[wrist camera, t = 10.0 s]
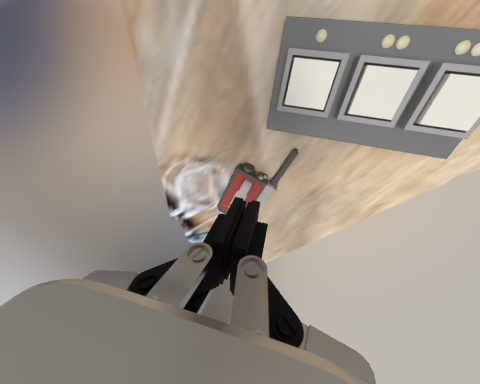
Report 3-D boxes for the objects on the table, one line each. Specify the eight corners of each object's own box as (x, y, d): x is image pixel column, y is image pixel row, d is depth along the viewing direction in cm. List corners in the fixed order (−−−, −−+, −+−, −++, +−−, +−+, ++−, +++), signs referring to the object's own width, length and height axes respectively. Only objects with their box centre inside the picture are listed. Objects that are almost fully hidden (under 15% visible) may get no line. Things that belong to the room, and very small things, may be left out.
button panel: (287, 21, 23) (286, 10, 19) (523, 38, 19) (571, 29, 16) (267, 126, 30) (264, 131, 27) (436, 154, 26) (457, 164, 23)
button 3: (437, 74, 20) (450, 73, 18) (490, 80, 19) (508, 79, 18) (410, 120, 23) (419, 124, 21) (455, 127, 22) (468, 131, 20)
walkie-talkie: (250, 221, 42) (301, 150, 31) (246, 234, 39) (303, 160, 27) (217, 203, 42) (258, 125, 31) (210, 215, 38) (253, 131, 27)
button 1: (294, 59, 23) (294, 57, 21) (335, 63, 22) (339, 62, 20) (284, 102, 25) (284, 104, 24) (321, 108, 24) (323, 110, 23)
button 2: (362, 66, 21) (367, 65, 20) (408, 71, 21) (418, 70, 19) (344, 111, 24) (348, 113, 22) (384, 117, 23) (391, 119, 22)
